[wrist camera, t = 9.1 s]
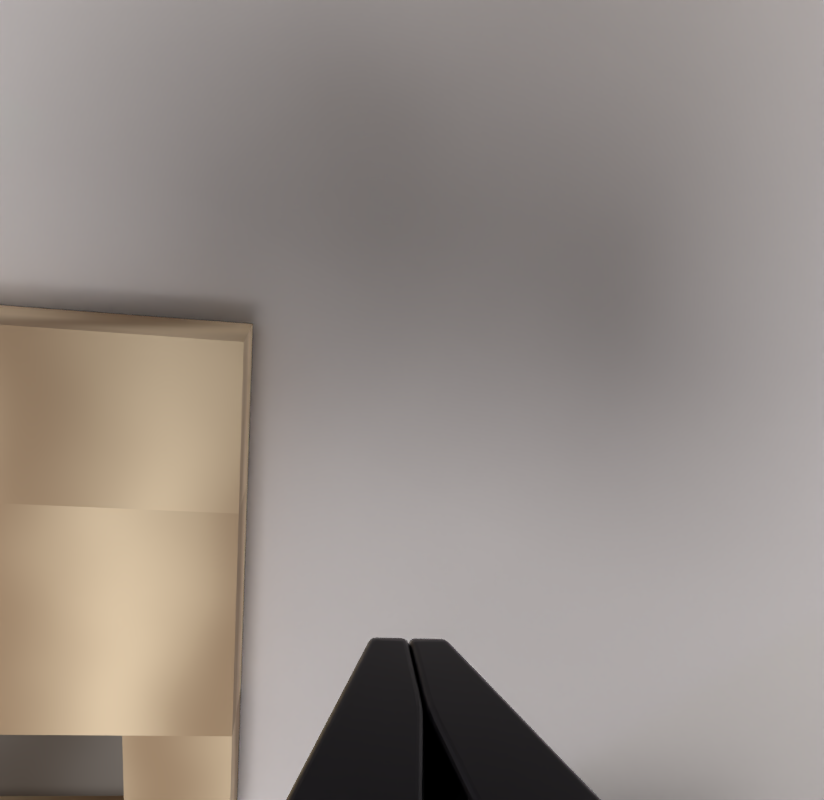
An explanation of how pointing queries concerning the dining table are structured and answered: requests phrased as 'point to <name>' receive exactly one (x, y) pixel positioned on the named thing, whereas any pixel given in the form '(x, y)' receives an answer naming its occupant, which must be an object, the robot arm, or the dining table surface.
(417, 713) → the robot arm
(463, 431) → the dining table surface
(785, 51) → the dining table surface
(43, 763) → the trap box
